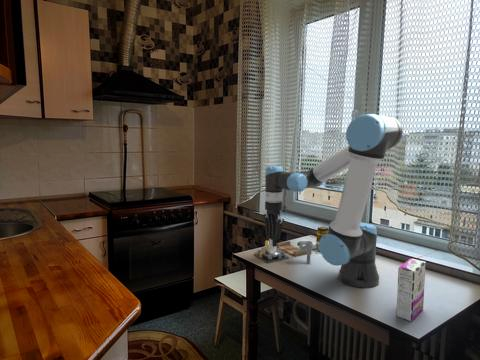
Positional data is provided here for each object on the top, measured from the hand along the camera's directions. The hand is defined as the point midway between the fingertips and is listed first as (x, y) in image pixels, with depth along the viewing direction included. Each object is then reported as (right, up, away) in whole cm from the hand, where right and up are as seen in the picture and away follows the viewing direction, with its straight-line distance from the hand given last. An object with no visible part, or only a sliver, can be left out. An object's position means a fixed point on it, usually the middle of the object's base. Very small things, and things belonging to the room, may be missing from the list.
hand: (272, 252), depth 147 cm
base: (0, -4, +9) cm, 9 cm away
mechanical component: (+16, -5, 0) cm, 17 cm away
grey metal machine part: (0, -3, +8) cm, 9 cm away
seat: (+11, -3, +17) cm, 21 cm away
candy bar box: (+40, -10, -42) cm, 59 cm away
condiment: (+28, -3, +17) cm, 32 cm away
